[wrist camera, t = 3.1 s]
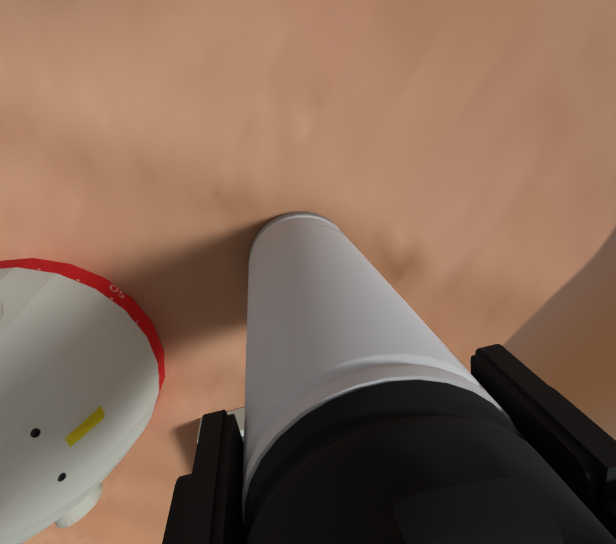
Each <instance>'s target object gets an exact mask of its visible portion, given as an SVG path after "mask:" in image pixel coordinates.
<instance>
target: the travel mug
mask: <svg viewBox="0 0 616 544" xmlns="http://www.w3.org/2000/svg"><path fill="white" fill-rule="evenodd" d="M242 516H243V525H244V537H245V544H616V539H615V538H614V537H613V536H612V535H611V534H610V533H609V531H608V530H607V529H606V528H605V527H604V526H603V525H602V524H601V522H600V521H599V520H598V519H597V518H596V517H595V516H594V515H593V514H592V512H591V511H590V510H589V509H588V508H587V507H586V506H585V505H584V503H583V502H582V501H581V500H580V499H579V498H578V497H577V496H576V494H575V493H574V492H573V491H572V490H571V489H570V488H569V487H568V485H567V484H566V483H565V482H564V481H563V480H562V479H561V478H560V477H559V475H558V474H557V473H556V472H555V471H554V470H553V469H552V468H551V466H550V465H549V464H548V463H547V462H546V461H545V460H544V459H543V458H542V457H541V455H540V454H539V453H538V452H537V451H536V450H535V449H534V448H533V447H532V446H531V445H530V444H529V443H528V442H527V441H526V439H525V437H524V436H523V435H522V434H521V433H520V432H519V431H518V430H517V428H516V427H515V426H514V424H513V422H512V421H511V419H510V417H509V415H508V414H507V413H506V412H505V411H504V410H503V409H502V408H501V407H500V406H499V404H498V403H497V402H496V401H495V400H494V399H493V398H492V397H491V396H490V395H489V394H488V393H487V391H486V390H485V389H484V388H483V387H482V386H481V385H480V384H479V382H478V381H477V380H476V379H475V378H474V377H473V376H472V375H471V374H470V372H469V371H468V370H467V369H466V368H465V367H464V366H463V365H462V364H461V363H460V361H459V360H458V359H457V358H456V357H455V356H454V355H453V354H452V353H451V352H450V350H449V349H448V348H447V347H446V346H445V345H444V344H443V343H442V342H441V341H440V339H439V338H438V337H437V336H436V335H435V334H434V333H433V332H432V331H431V330H430V328H429V327H428V326H427V325H426V324H425V323H424V322H423V321H422V320H421V319H420V317H419V316H418V315H417V314H416V313H415V312H414V311H413V310H412V309H411V307H410V306H409V305H408V304H407V303H406V302H405V301H404V300H403V299H402V298H401V296H400V295H399V294H398V293H397V292H396V291H395V290H394V289H393V288H392V287H391V285H390V284H389V283H388V282H387V281H386V280H385V279H384V278H383V277H382V276H381V274H380V273H379V272H378V271H377V270H376V269H375V268H374V267H373V266H372V265H371V263H370V262H369V261H368V260H367V259H366V258H365V257H364V256H363V255H362V254H361V252H360V251H359V250H358V249H357V248H356V247H355V246H354V245H353V244H352V242H351V241H350V240H349V239H348V238H347V237H346V236H345V235H344V234H343V233H342V231H341V230H340V229H339V228H338V227H337V226H336V225H335V224H334V223H333V222H331V221H330V220H328V219H327V218H326V217H323V216H321V215H318V214H316V213H311V212H291V213H286V214H284V215H281V216H279V217H276V218H275V219H273V220H272V221H270V222H269V223H267V224H266V225H265V226H264V227H263V228H262V229H261V230H260V231H259V233H258V234H257V236H256V237H255V239H254V241H253V244H252V246H251V249H250V255H249V274H248V309H247V344H246V379H245V414H244V449H243V488H242Z"/></svg>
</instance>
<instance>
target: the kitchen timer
mask: <svg viewBox="0 0 616 544" xmlns="http://www.w3.org/2000/svg"><path fill="white" fill-rule="evenodd" d="M164 378H165V368H164V350H163V347H162V345H161V342H160V340H159V337H158V335H157V332H156V330H155V327H154V325H153V323H152V322H151V320H150V319H149V318H148V317H147V315H146V314H145V313H144V312H143V310H142V309H141V308H140V307H139V305H138V304H137V303H136V302H135V300H134V299H133V298H131V297H130V296H129V295H127V294H126V293H124V292H123V291H122V290H120V289H119V288H118V287H116V286H115V285H114V284H112V283H111V282H109V281H108V280H107V279H105V278H103V277H101V276H98V275H96V274H93V273H91V272H89V271H86V270H84V269H81V268H79V267H76V266H74V265H72V264H67V263H61V262H54V261H48V260H42V259H35V258H28V259H17V260H6V261H0V544H22V543H23V542H25V541H27V540H29V539H30V538H32V537H33V536H35V535H36V534H38V533H39V532H41V531H42V530H44V529H45V528H47V527H48V526H49V525H51V524H52V523H54V522H55V523H56V526H57V527H58V528H65V527H68V526H71V525H73V524H74V523H76V522H77V521H79V520H80V519H81V518H82V517H84V516H85V515H86V514H87V513H88V512H89V511H90V510H91V509H92V508H93V507H94V506H95V504H96V503H97V502H98V500H99V499H100V497H101V494H102V490H103V485H102V483H101V482H102V481H103V480H104V479H105V478H106V476H107V475H108V474H109V473H110V472H111V471H112V470H113V469H114V468H115V466H116V465H117V464H118V463H119V462H120V461H121V459H122V458H123V457H124V456H125V454H126V453H127V452H128V450H129V449H130V448H131V446H132V445H133V444H134V442H135V441H136V440H137V438H138V437H139V436H140V434H141V433H142V432H143V430H144V429H145V427H146V426H147V424H148V422H149V420H150V418H151V417H152V414H153V411H154V408H155V405H156V403H157V400H158V397H159V393H160V390H161V387H162V384H163V381H164Z"/></svg>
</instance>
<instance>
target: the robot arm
mask: <svg viewBox="0 0 616 544" xmlns="http://www.w3.org/2000/svg"><path fill="white" fill-rule="evenodd" d="M471 375H472V376H473V377H474V378H475V379H476V380H477V381H478V382H479V384H480V385H481V386H482V387H483V388H484V389H485V390H486V391H487V393H488V394H489V395H490V396H491V397H492V398H493V399H494V400H495V401H496V402H497V403H498V404H499V406H500V407H501V408H502V409H503V410H504V411H505V412H506V413H507V414H508V415H509V417H510V419H511V421H512V422H513V424H514V426H515V427H516V428H517V430H518V431H519V432H520V433H521V434H522V435H523V436H524V437H525V439H526V441H527V442H528V443H529V444H530V445H531V446H532V447H533V448H534V449H535V450H536V451H537V452H538V453H539V454H540V455H541V457H542V458H543V459H544V460H545V461H546V462H547V463H548V464H549V465H550V466H551V468H552V469H553V470H554V471H555V472H556V473H557V474H558V475H559V477H560V478H561V479H562V480H563V481H564V482H565V483H566V484H567V485H568V487H569V488H570V489H571V490H572V491H573V492H574V493H575V494H576V496H577V497H578V498H579V499H580V500H581V501H582V502H583V503H584V505H585V506H586V507H587V508H588V509H589V510H590V511H591V512H592V514H593V515H594V516H595V517H596V518H597V519H598V520H599V521H600V522H601V524H602V525H603V526H604V527H605V528H606V529H607V530H608V531H609V533H610V534H611V535H612V536H613V537H614V538H615V539H616V441H615V440H614V439H613V438H612V437H611V436H609V435H608V434H607V433H606V432H605V431H603V430H602V429H601V428H600V427H599V426H598V425H597V424H595V423H594V422H593V421H592V420H591V419H589V418H588V417H587V416H586V415H585V414H584V413H582V412H581V411H580V410H579V409H578V408H576V407H575V406H574V405H573V404H572V403H571V402H569V401H568V400H567V399H566V398H565V397H563V396H562V395H561V394H560V393H559V392H558V391H556V390H555V389H554V388H552V387H550V386H548V385H547V384H546V383H545V382H544V381H542V380H541V379H540V378H539V377H538V376H537V375H535V374H534V373H533V372H532V371H531V370H530V369H528V368H527V367H526V366H525V365H524V364H523V363H521V362H520V361H519V360H518V359H517V358H516V357H514V356H513V355H512V354H511V353H510V352H509V351H507V350H506V349H505V348H504V347H503V346H501V345H500V344H495V345H491V346H486V347H482V348H478V349H477V350H476V353H475V355H473V356H471ZM243 449H244V442H243V439H242V436H241V433H240V429H239V426H238V423H237V420H236V417H235V415H234V414H229V415H228V414H227V412H226V410H221V411H217V412H213V413H209V414H204V415H203V417H202V421H201V427H200V432H199V438H198V443H197V449H196V455H195V460H194V466H193V471H192V474H188V475H184V476H180V477H179V478H178V479H177V481H176V484H175V488H174V493H173V497H172V502H171V506H170V511H169V515H168V520H167V524H166V529H165V533H164V538H163V542H162V544H245V537H244V525H243V516H242V488H243Z"/></svg>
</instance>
